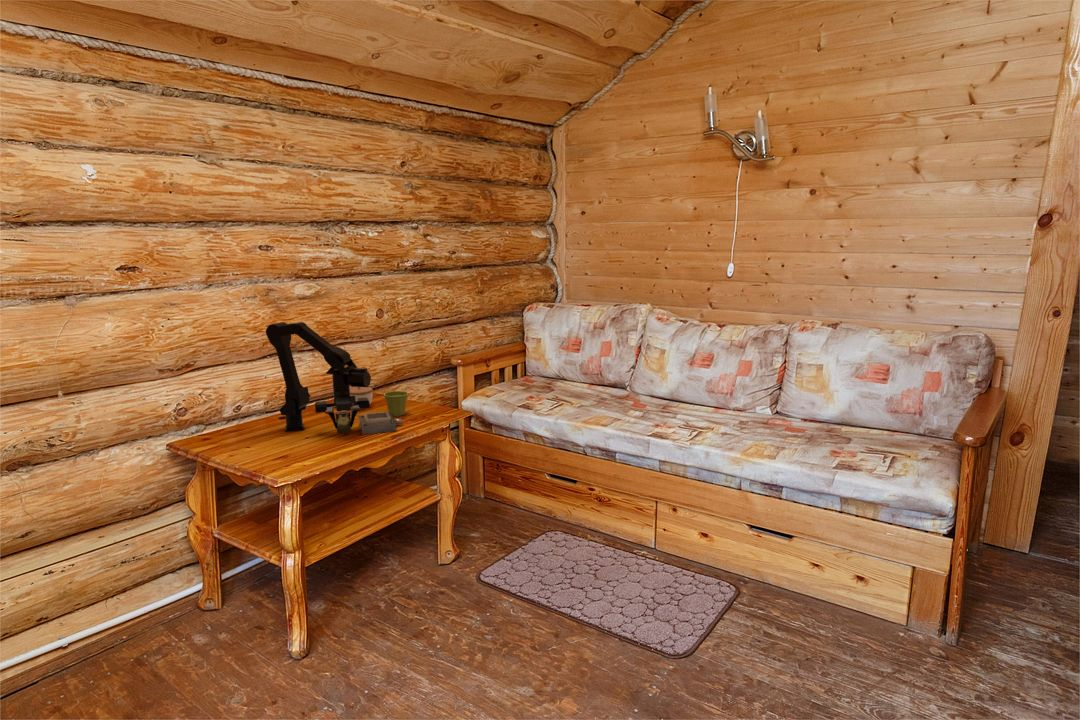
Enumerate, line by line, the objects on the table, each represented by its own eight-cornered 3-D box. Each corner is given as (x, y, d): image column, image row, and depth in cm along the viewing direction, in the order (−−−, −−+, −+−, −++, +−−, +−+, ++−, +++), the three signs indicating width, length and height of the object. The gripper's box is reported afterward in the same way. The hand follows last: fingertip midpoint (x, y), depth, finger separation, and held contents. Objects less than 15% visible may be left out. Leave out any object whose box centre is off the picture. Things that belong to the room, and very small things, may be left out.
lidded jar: (348, 404, 270) (346, 383, 268) (374, 403, 272) (373, 382, 270) (345, 411, 260) (343, 389, 258) (372, 410, 261) (371, 388, 260)
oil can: (336, 430, 235) (335, 410, 233) (350, 428, 237) (349, 409, 235) (337, 435, 229) (336, 415, 227) (352, 434, 230) (350, 414, 229)
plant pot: (385, 412, 259) (384, 391, 257) (409, 410, 261) (408, 390, 259) (384, 418, 250) (383, 397, 248) (409, 417, 252) (408, 395, 250)
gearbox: (359, 423, 243) (358, 412, 242) (399, 420, 248) (399, 408, 247) (362, 434, 230) (361, 422, 229) (404, 430, 235) (404, 418, 234)
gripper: (314, 393, 220) (317, 436, 223) (370, 389, 226) (372, 431, 229) (313, 386, 230) (316, 427, 233) (367, 382, 236) (369, 422, 239)
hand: (343, 427), depth 233 cm, fingers closed on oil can, 5 cm apart
